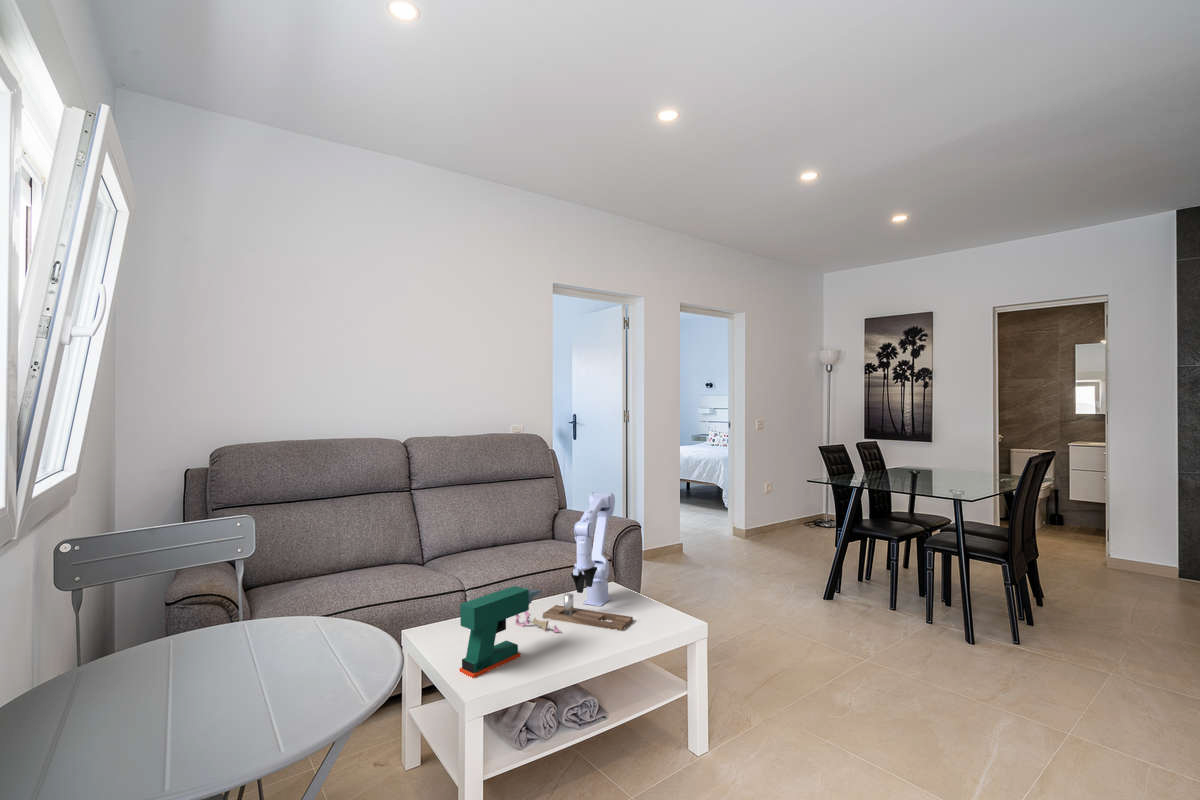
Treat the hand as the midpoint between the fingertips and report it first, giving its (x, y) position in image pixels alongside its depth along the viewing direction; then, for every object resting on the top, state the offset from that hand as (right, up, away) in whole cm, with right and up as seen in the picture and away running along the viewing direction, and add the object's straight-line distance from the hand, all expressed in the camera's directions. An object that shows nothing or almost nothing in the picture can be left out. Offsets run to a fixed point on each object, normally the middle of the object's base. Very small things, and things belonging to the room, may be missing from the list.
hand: (584, 589), depth 215 cm
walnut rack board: (+1, -9, -5) cm, 11 cm away
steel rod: (-6, -10, -2) cm, 11 cm away
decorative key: (-16, -10, -14) cm, 23 cm away
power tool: (-23, -9, -36) cm, 44 cm away
